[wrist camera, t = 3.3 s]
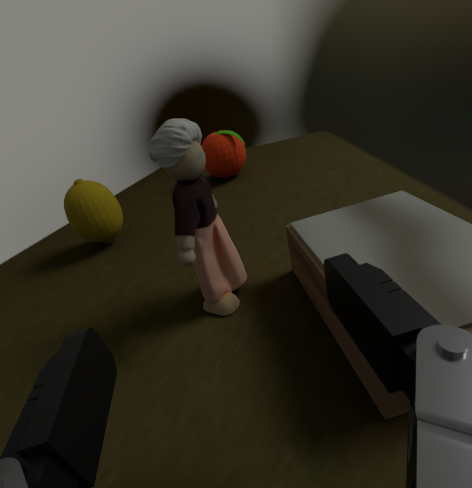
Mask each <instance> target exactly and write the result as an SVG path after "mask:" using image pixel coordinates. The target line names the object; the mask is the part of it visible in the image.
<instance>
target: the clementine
mask: <svg viewBox="0 0 472 488" xmlns="http://www.w3.org/2000/svg"><path fill="white" fill-rule="evenodd" d="M243 143H244V141H243V139H242V138H241V137H240V136H239V135H238V134H236V133H235V132H233V131H228V130H223V131H218V130H216V132H214V133H212V134H210V135H209V136H207V138H206V139H205V140H204V142H203V144H202V146H201V147H202V149H203V150H204V153H205V158H206V164H205V169H206V170H207V171H208V172H209V173H210V174H211V175H213V176H215V177H218V178H229V177H232V176H234V175H235V174H237V173H238V172H239V171H240V170H241V169H242V167H243V165H244V163H245V159H246V150H245V147H244V145H245V143H244V144H243Z"/></svg>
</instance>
